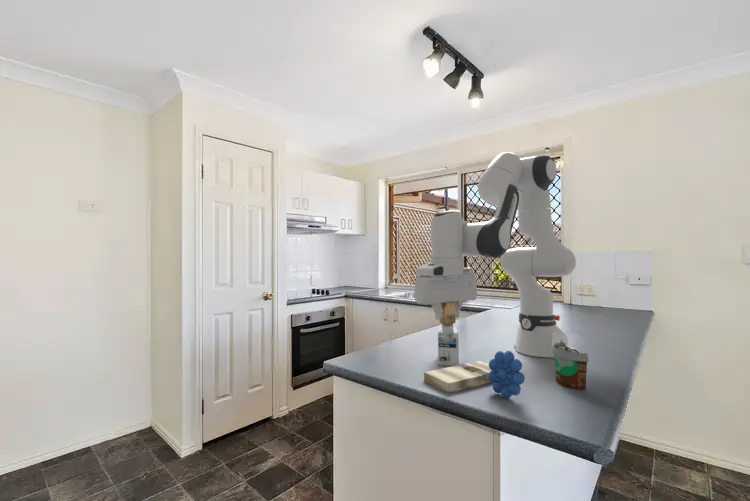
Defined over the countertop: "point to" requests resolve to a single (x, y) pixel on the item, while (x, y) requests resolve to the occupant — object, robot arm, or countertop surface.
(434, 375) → the wooden block with hole
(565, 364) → the food container
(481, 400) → the countertop surface
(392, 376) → the countertop surface
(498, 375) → the grapes
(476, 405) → the countertop surface
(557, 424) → the countertop surface
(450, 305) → the gold rounded piece
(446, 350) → the light bulb box
